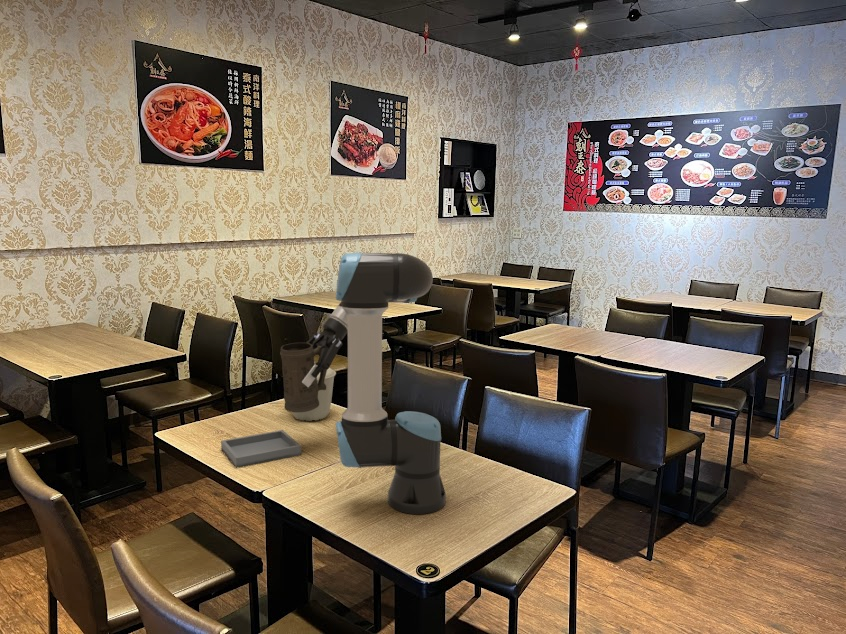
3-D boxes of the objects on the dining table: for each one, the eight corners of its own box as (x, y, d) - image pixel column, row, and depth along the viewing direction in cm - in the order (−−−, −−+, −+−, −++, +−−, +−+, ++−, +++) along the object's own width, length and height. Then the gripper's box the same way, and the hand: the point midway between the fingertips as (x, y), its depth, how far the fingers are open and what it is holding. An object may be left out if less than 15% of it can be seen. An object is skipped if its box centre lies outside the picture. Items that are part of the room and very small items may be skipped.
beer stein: (297, 416, 188) (295, 351, 184) (275, 408, 194) (272, 345, 190) (335, 403, 199) (334, 342, 195) (313, 396, 206) (311, 337, 202)
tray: (301, 454, 193) (301, 445, 193) (236, 468, 183) (236, 458, 182) (282, 438, 207) (282, 429, 206) (221, 449, 196) (221, 440, 195)
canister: (346, 414, 231) (346, 359, 228) (312, 428, 216) (312, 369, 213) (309, 405, 241) (308, 352, 237) (274, 418, 226) (273, 361, 222)
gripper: (366, 336, 194) (323, 396, 187) (327, 325, 210) (287, 379, 203) (351, 321, 189) (307, 382, 182) (313, 311, 206) (271, 366, 199)
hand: (296, 381), depth 193 cm, fingers closed on beer stein, 9 cm apart
